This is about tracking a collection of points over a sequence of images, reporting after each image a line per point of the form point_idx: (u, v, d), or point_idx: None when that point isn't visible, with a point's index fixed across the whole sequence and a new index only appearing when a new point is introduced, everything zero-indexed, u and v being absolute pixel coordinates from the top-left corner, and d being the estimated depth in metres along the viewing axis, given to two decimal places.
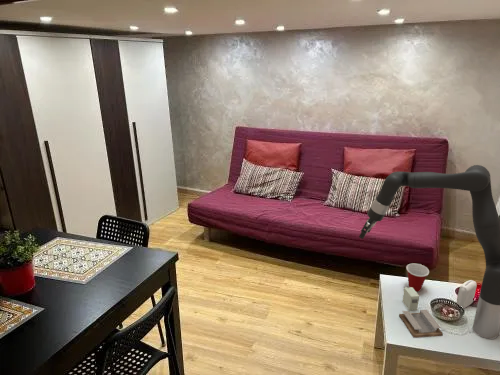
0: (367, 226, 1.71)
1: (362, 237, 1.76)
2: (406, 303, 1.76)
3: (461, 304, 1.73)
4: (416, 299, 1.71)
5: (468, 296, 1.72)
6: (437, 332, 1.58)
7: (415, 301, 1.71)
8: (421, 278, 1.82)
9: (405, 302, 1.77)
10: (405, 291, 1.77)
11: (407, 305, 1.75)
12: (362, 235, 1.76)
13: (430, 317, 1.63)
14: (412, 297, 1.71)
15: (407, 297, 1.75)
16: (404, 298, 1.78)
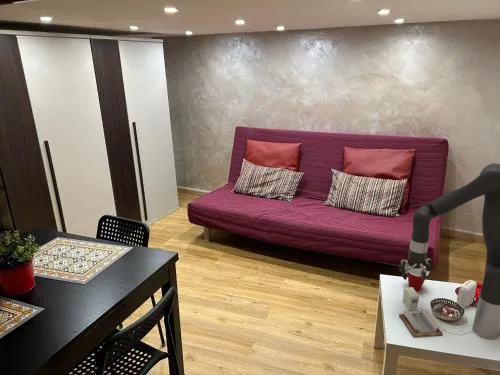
0: (402, 263, 1.68)
1: (403, 277, 1.71)
2: (406, 303, 1.76)
3: (461, 304, 1.73)
4: (416, 299, 1.71)
5: (468, 296, 1.72)
6: (437, 332, 1.58)
7: (415, 301, 1.71)
8: (421, 278, 1.82)
9: (405, 302, 1.77)
10: (405, 291, 1.77)
11: (407, 305, 1.75)
12: (403, 275, 1.71)
13: (430, 317, 1.63)
14: (412, 297, 1.71)
15: (407, 297, 1.75)
16: (404, 298, 1.78)
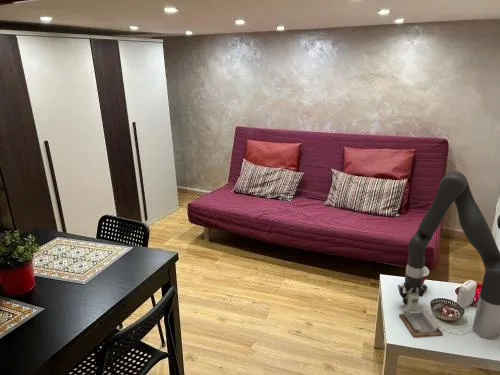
0: (399, 290, 1.73)
1: (404, 302, 1.75)
2: None
3: (461, 304, 1.73)
4: (416, 299, 1.71)
5: (468, 296, 1.72)
6: (437, 332, 1.58)
7: (415, 301, 1.71)
8: None
9: None
10: None
11: (407, 305, 1.75)
12: (404, 300, 1.75)
13: (430, 317, 1.63)
14: (412, 297, 1.71)
15: None
16: None
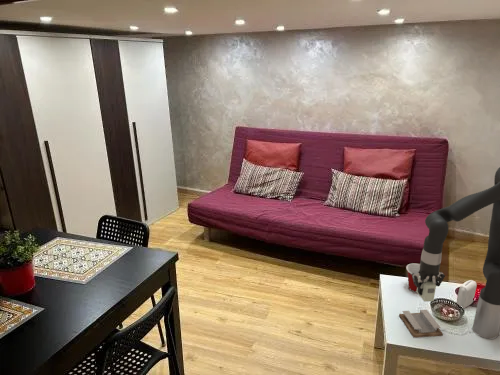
0: (414, 278, 1.55)
1: (418, 292, 1.57)
2: None
3: (461, 304, 1.73)
4: (432, 289, 1.53)
5: (468, 296, 1.72)
6: (437, 332, 1.58)
7: (431, 291, 1.53)
8: None
9: None
10: None
11: (422, 296, 1.57)
12: (418, 290, 1.57)
13: (430, 317, 1.63)
14: (428, 286, 1.53)
15: None
16: None
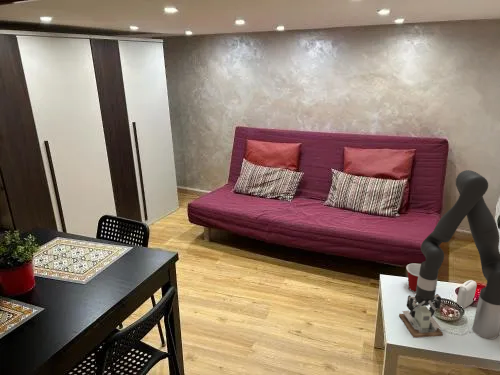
0: (409, 300, 1.58)
1: (411, 315, 1.61)
2: (416, 320, 1.62)
3: (461, 304, 1.73)
4: (428, 316, 1.58)
5: (468, 296, 1.72)
6: (437, 332, 1.58)
7: (427, 318, 1.58)
8: None
9: (415, 319, 1.63)
10: None
11: (418, 322, 1.61)
12: (411, 312, 1.61)
13: None
14: (424, 314, 1.57)
15: (418, 314, 1.61)
16: None
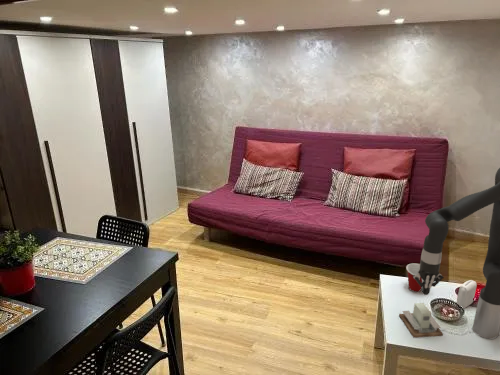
0: None
1: (423, 292, 1.57)
2: (416, 320, 1.62)
3: (461, 304, 1.73)
4: (428, 316, 1.58)
5: (468, 296, 1.72)
6: (437, 332, 1.58)
7: (427, 318, 1.58)
8: (421, 278, 1.82)
9: (415, 319, 1.63)
10: (415, 307, 1.63)
11: (418, 322, 1.61)
12: (422, 290, 1.57)
13: None
14: (424, 314, 1.57)
15: (418, 314, 1.61)
16: (414, 315, 1.64)
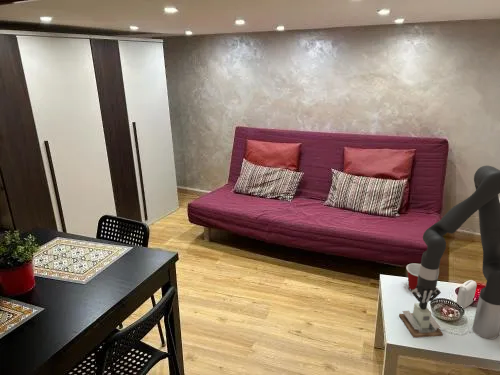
0: (413, 294, 1.57)
1: (420, 306, 1.59)
2: (416, 320, 1.62)
3: (461, 304, 1.73)
4: (428, 316, 1.58)
5: (468, 296, 1.72)
6: (437, 332, 1.58)
7: (427, 318, 1.58)
8: None
9: (415, 319, 1.63)
10: (415, 307, 1.63)
11: (418, 322, 1.61)
12: (420, 304, 1.60)
13: None
14: (424, 314, 1.57)
15: (418, 314, 1.61)
16: (414, 315, 1.64)
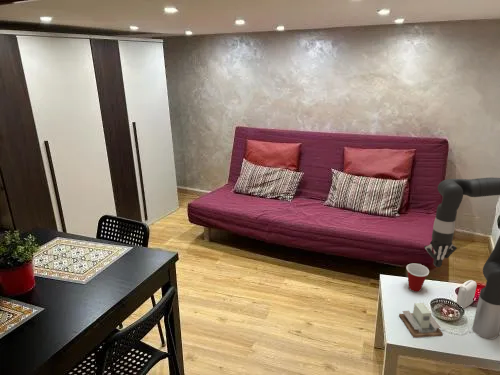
0: (427, 251, 1.48)
1: (435, 264, 1.50)
2: (416, 320, 1.62)
3: (461, 304, 1.73)
4: (428, 316, 1.58)
5: (468, 296, 1.72)
6: (437, 332, 1.58)
7: (427, 318, 1.58)
8: (421, 278, 1.82)
9: (415, 319, 1.63)
10: (415, 307, 1.63)
11: (418, 322, 1.61)
12: (434, 262, 1.50)
13: None
14: (424, 314, 1.57)
15: (418, 314, 1.61)
16: (414, 315, 1.64)
